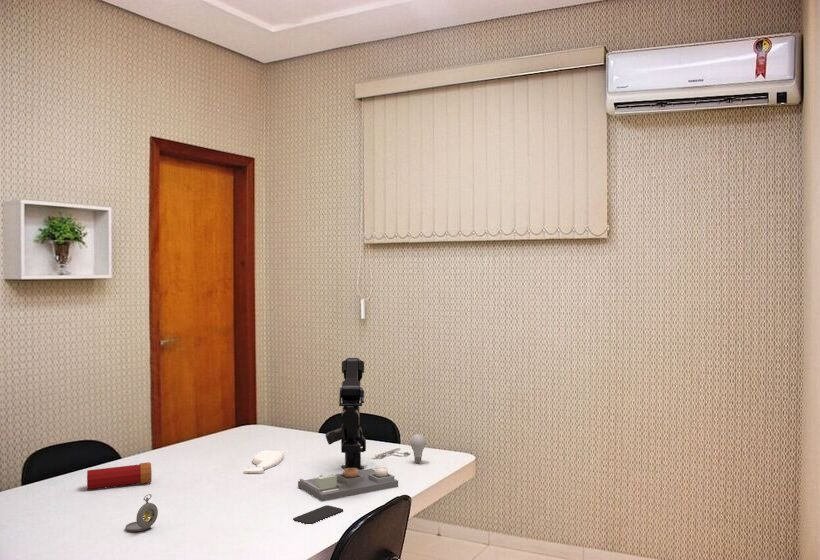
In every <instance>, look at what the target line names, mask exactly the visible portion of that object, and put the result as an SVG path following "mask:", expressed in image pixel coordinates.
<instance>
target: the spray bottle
mask: <svg viewBox="0 0 820 560" xmlns="http://www.w3.org/2000/svg"><path fill="white" fill-rule="evenodd" d="M284 458H285V452H284V451H282V450H262V451H260V452H258V453H256V455H254V457H252V460H251V462H252V463H254V464H253V465H255V464H256V466H255V467H253V468H251V467H250V466H249V467H248V469H243V472H242V473H243V474H264V473H265V470H268V469H271V468H273V467H276V466H278V465H279V464H280V463H282V461H283V460H284ZM275 465H276V466H275ZM272 466H273V467H272ZM270 467H271V468H270Z"/></svg>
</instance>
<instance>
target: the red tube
mask: <svg viewBox="0 0 820 560" xmlns="http://www.w3.org/2000/svg"><path fill="white" fill-rule="evenodd" d="M86 474H87V475H86V489H87V490H89V489H92V490H98V489H97V488H101V489H106V488H105V487H110V488H115V487H114V486H118V487H123V486H122V485H126V486H131V485H130V484H134V485H138V484H137V483H140V484H139V485H144V484H143V483H149V484H151V483H152V463H151V462H140V463H138V464H132V465H122V466H113V467H107V468H105V467H104V468H96V469H88V470H87V471H86ZM150 482H151V483H150ZM89 491H90V490H89Z"/></svg>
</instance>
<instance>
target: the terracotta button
mask: <svg viewBox="0 0 820 560" xmlns="http://www.w3.org/2000/svg"><path fill="white" fill-rule="evenodd" d="M358 471H359V469H357V468H343V473H344V476H345V477H356V476H358Z"/></svg>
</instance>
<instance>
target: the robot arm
mask: <svg viewBox="0 0 820 560" xmlns="http://www.w3.org/2000/svg"><path fill="white" fill-rule="evenodd" d="M341 373H342V374H343V379H344V380H343V381H342V383H341V387H339V397H338V399H339V401H338V404H339V405H338V406H339V407H342V413H341V418H340V420H341V423H342V424H341V427H339V428H337V429H334V430H331V431H328V432H326V433H325V439H326V441H327V444H328V445H332V444H334V443H336V442H339V441H340V445H341V451H340V452H341V454H342V453H344V464H342V465H341V468H343V469H345V468H357V469H358V470H361V469H362V470H363V469H365V466H364V465H361V463H362V457H361V456H362V455H361V454H362V453H364V452H366V451H367V450H366V449H367V443H366V442H367V439H366V438H365V436H364V435H363V430H362V428H361V426H360V416H361V415H360V411H361V409H360V408H361V407H362V406H363V404H364V403H365V390H364V388H363V387H361V381H362V379H363V374H365V361H363V360H361V359H360V358H359V357H347V358H345V360H342V361H341Z"/></svg>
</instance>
